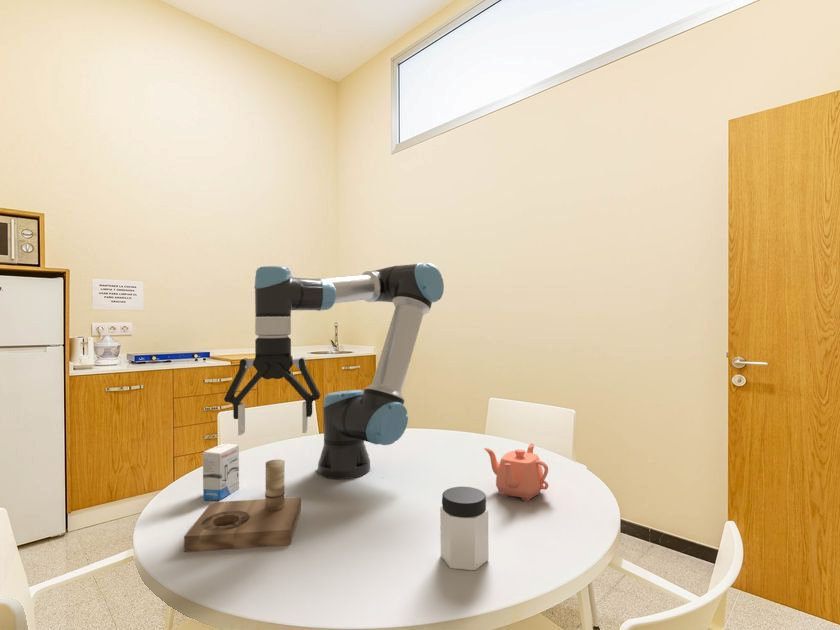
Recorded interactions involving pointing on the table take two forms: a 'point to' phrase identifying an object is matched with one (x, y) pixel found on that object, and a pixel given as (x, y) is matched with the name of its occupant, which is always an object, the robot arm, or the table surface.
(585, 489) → the table surface
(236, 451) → the ink box
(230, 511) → the board
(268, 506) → the dowel
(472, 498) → the jar
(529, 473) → the teapot
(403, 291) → the robot arm
